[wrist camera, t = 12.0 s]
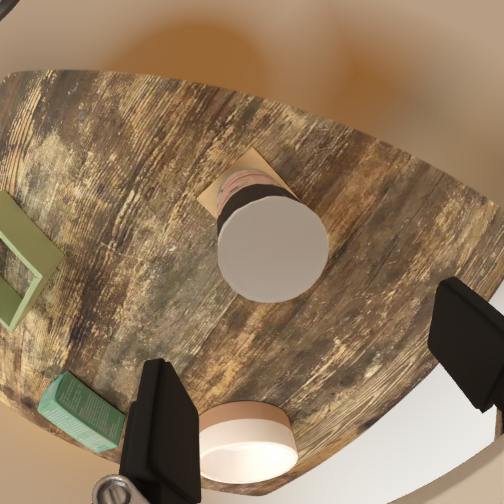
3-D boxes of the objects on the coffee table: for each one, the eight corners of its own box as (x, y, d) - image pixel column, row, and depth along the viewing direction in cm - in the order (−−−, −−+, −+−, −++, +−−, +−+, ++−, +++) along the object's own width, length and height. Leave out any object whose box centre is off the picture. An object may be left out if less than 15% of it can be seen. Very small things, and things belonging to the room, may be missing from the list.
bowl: (174, 423, 45) (171, 462, 37) (254, 386, 43) (261, 429, 35) (233, 457, 51) (236, 490, 43) (305, 426, 49) (315, 461, 41)
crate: (5, 189, 27) (-24, 200, 22) (65, 255, 32) (43, 276, 26) (-23, 253, 29) (-46, 270, 24) (30, 310, 34) (11, 333, 28)
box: (66, 367, 38) (51, 400, 31) (126, 414, 43) (119, 447, 36) (48, 381, 39) (34, 411, 32) (104, 423, 44) (97, 454, 37)
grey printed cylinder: (291, 187, 31) (349, 230, 18) (260, 239, 33) (292, 317, 19) (235, 157, 30) (252, 176, 16) (205, 213, 31) (198, 277, 18)
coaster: (252, 146, 30) (252, 146, 29) (300, 201, 32) (301, 202, 32) (196, 198, 31) (196, 198, 31) (246, 248, 34) (247, 249, 34)
